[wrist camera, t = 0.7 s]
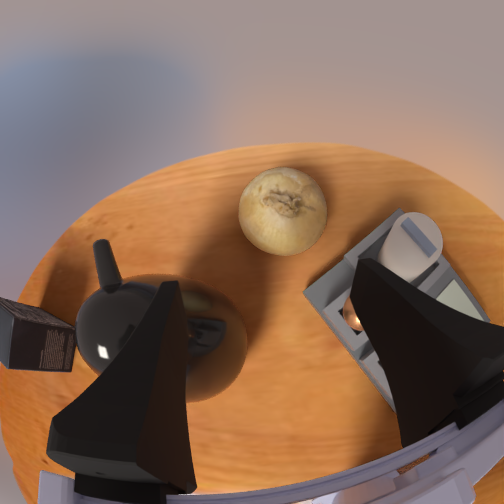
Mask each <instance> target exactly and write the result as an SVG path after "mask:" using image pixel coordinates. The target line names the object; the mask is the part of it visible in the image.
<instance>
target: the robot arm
mask: <svg viewBox="0 0 504 504" xmlns="http://www.w3.org/2000/svg"><path fill="white" fill-rule="evenodd" d="M349 297H350V300H351V303H352V305H353V308H354V311H355V313H356V316H357V318H358V320H359V322H360V324H361V325H362V327H363V329H364V331H365V333H366V335H367V337H368V339H369V341H370V342H371V344H372V346H373V348H374V350H375V352H376V354H377V356H378V358H379V360H380V362H381V365H382V367H383V370H384V373H385V376H386V378H387V381H388V384H389V388H390V391H391V394H392V398H393V401H394V405H395V409H396V414H397V418H398V424H399V429H400V435H401V444H402V447H403V449H401V450H399V451H396V452H394V453H392V454H389V455H387V456H384V457H382V458H379V459H377V460H374V461H371V462H369V463H366V464H363V465H360V466H358V467H355V468H352V469H348V470H345V471H342V472H339V473H336V474H332V475H329V476H325V477H321V478H317V479H313V480H309V481H305V482H301V483H296V484H291V485H286V486H281V487H275V488H269V489H263V490H255V491H247V492H238V493H227V494H211V495H178V494H191V493H193V492H194V491H195V490H196V488H197V484H196V479H195V474H194V468H193V462H192V456H191V449H190V441H189V432H188V423H187V411H186V370H187V354H188V324H187V315H186V311H185V307H184V303H183V299H182V295H181V291H180V287H179V282H178V280H175V281H164V282H162V283H161V284H160V286H159V288H158V290H157V292H156V294H155V295H154V297H153V299H152V301H151V303H150V305H149V306H148V308H147V310H146V312H145V313H144V315H143V317H142V318H141V320H140V322H139V323H138V325H137V327H136V328H135V330H134V331H133V333H132V334H131V336H130V337H129V339H128V340H127V342H126V343H125V345H124V346H123V347H122V349H121V350H120V351H119V353H118V354H117V355H116V357H115V358H114V359H113V360H112V362H111V363H110V364H109V365H108V366H107V368H106V369H105V370H104V371H103V372H102V373H101V375H100V376H99V377H98V378H97V379H96V380H95V381H94V382H93V383H92V384H91V385H90V386H89V387H88V388H87V389H86V390H85V391H84V392H83V393H82V394H81V395H80V396H79V397H77V398H76V399H75V400H74V401H73V402H72V403H70V404H69V405H68V406H67V407H65V408H64V409H63V410H62V411H60V412H59V413H58V414H57V415H55V416H54V417H53V418H52V421H51V425H50V430H49V437H48V443H47V450H46V454H47V455H48V457H49V458H50V459H52V460H53V461H55V462H56V463H58V464H60V465H62V466H63V467H65V468H67V469H69V470H71V471H73V472H75V480H74V479H71V478H68V477H65V476H61V475H58V474H54V473H50V472H47V471H44V470H41V471H40V479H39V492H38V504H292V503H297V502H301V501H306V500H310V499H313V500H312V504H320V503H321V504H472V503H473V502H474V500H475V497H476V493H475V491H474V488H473V485H475V484H476V483H477V482H478V481H479V480H480V479H481V478H482V477H483V476H484V475H485V474H486V473H488V472H489V471H490V470H491V469H492V468H493V467H494V466H495V465H496V464H497V463H498V461H499V460H500V459H501V458H502V457H503V456H504V381H503V379H504V372H503V370H504V327H503V326H498V325H494V324H491V323H488V322H485V321H482V320H479V319H476V318H474V317H471V316H469V315H466V314H464V313H462V312H459V311H457V310H455V309H453V308H451V307H449V306H447V305H445V304H443V303H441V302H439V301H438V300H436V299H434V298H432V297H431V296H429V295H427V294H426V293H424V292H423V291H421V290H419V289H418V288H416V287H415V286H413V285H412V284H410V283H409V282H407V281H406V280H404V279H403V278H401V277H400V276H398V275H397V274H395V273H394V272H392V271H391V270H389V269H388V268H386V267H385V266H383V265H382V264H380V263H378V262H377V261H375V260H373V259H372V258H366V259H358V262H357V266H356V271H355V275H354V279H353V283H352V288H351V292H350V296H349ZM428 454H430V455H429V458H428V459H427V460H426V461H424V462H422V463H420V464H418V465H416V466H415V467H413V468H412V469H410V470H408V471H406V472H405V473H403V474H401V475H400V474H399V473H398V472H397V469H400V468H402V467H404V466H406V465H408V464H410V463H412V462H414V461H416V460H418V459H420V458H422V457H424V456H426V455H428Z"/></svg>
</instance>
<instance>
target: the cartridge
mask: <svg viewBox="0 0 504 504" xmlns="http://www.w3.org/2000/svg"><path fill="white" fill-rule="evenodd" d="M442 248H443V239H442V234H441V232H440V229H439V228H438V226H437V224H436V223H435V222H434V221H433V220H432V219H431V218H429V217H428V216H426V215H424V214H422V213H418V212H409V213H406V214H403V215H401V216H400V217H399V218H398V219H397V220H396V221H395V223H394V225H393V227H392V229H391V230H390V232H389V234H388V236H387V238H386V240H385V242H384V244H383V246H382V248H381V250H380V251H379V253H378V256H377V260H376V261H377V262H378V263H380V264H382V265H383V266H385V267H386V268H388V269H389V270H391V271H392V272H394V273H395V274H397V275H398V276H400V277H401V278H403V279H404V280H406V281H407V282H409V283H410V282H412V281H413V280H414V279H415V278H417V277H418V276H419V275H420V274H421V273H423V272H424V271H425V270H426V269H427V268H428V267H430V266H431V265H432V264H433V263H434V262H435V261H436V260H437V259H438V258H439V256H440V254H441V252H442Z"/></svg>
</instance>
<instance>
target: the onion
mask: <svg viewBox="0 0 504 504" xmlns="http://www.w3.org/2000/svg"><path fill="white" fill-rule="evenodd" d="M326 221H327V205H326V201H325V197H324V195H323V192H322V190H321V188H320V186H319V185H318V184H317V183H316V181H315V180H314V179H313V178H312V177H310V176H309V175H308V174H306V173H304V172H302V171H299V170H296V169H293V168H288V167H277V168H273V169H269V170H266V171H264V172H262V173H260V174H259V175H258V176H256V177H255V178H254V179H253V180H252V181H251V182H250V183H249V184H248V185H247V186H246V188H245V189H244V191H243V193H242V195H241V198H240V202H239V223H240V226H241V228H242V231H243V233H244V235H245V237H246V238H247V239H248V240H249V241H250V242H251V243H252V244H253V245H255V246H256V247H257V248H259V249H260V250H262V251H264V252H267V253H270V254H274V255H280V256H291V255H296V254H299V253H302V252H303V251H306V250H307V249H309V248H310V247H311V246H312V245H314V244H315V243H316V242H317V240H318V239H319V238H320V236H321V235H322V233H323V230H324V228H325V225H326Z"/></svg>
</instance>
